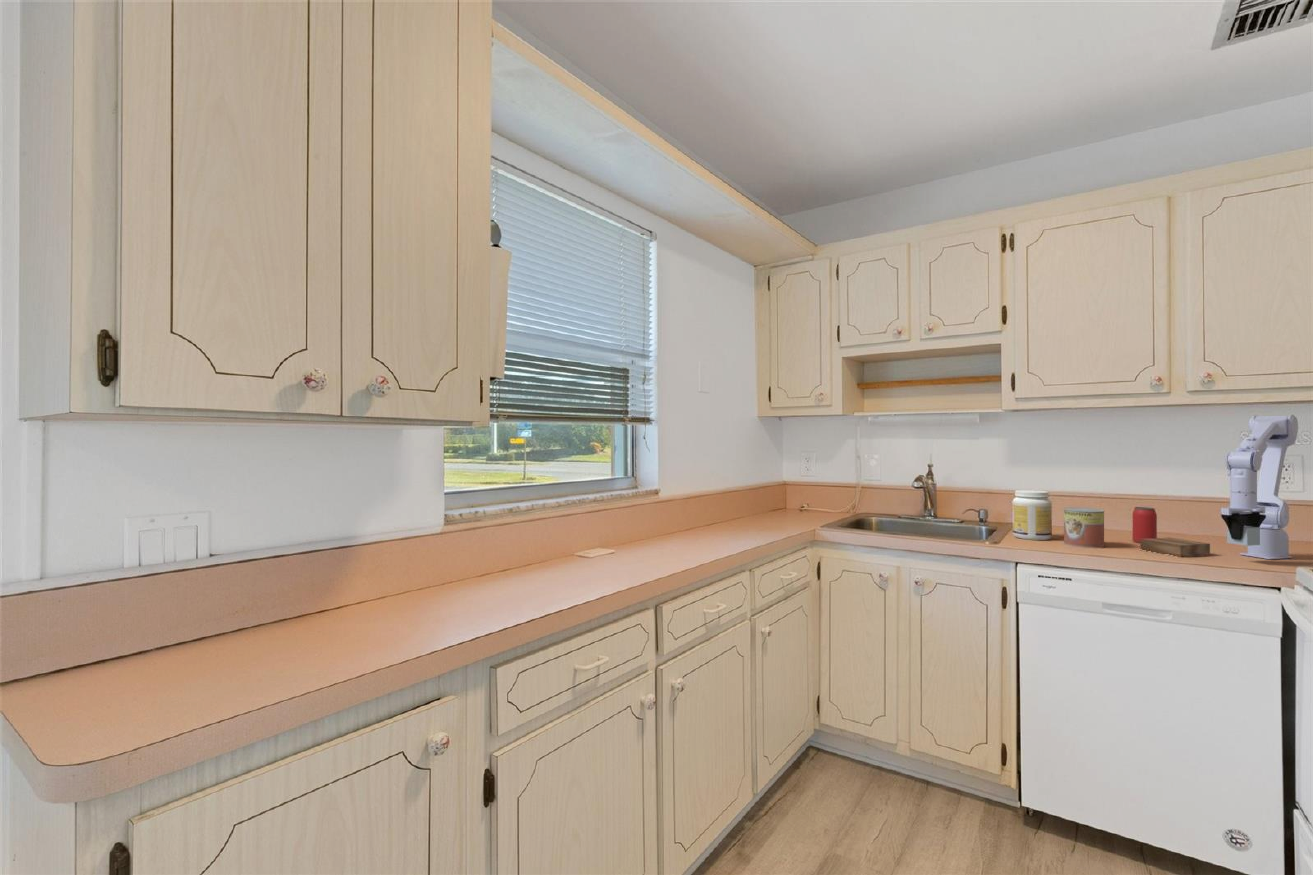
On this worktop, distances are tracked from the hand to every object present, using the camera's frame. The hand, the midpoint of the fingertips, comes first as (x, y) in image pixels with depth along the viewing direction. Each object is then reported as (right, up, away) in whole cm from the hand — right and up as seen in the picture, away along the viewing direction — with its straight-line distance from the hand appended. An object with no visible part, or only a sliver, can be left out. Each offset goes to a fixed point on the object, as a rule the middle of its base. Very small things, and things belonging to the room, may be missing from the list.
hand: (1243, 538), depth 178 cm
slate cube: (0, -2, 0) cm, 2 cm away
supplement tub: (-36, -7, +42) cm, 56 cm away
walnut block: (-8, -7, +14) cm, 18 cm away
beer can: (-3, -7, +32) cm, 33 cm away
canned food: (-27, -7, +28) cm, 40 cm away
